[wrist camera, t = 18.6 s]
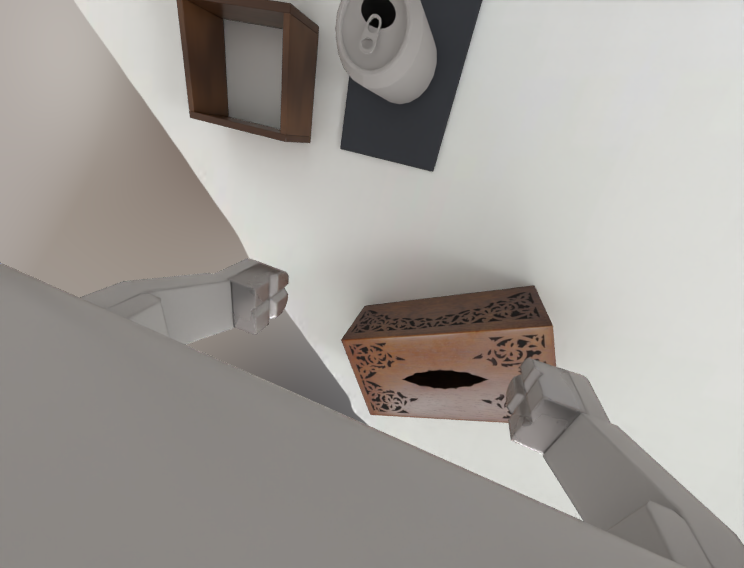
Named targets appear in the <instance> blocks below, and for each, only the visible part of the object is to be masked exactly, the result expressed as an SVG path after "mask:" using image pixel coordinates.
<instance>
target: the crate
mask: <svg viewBox="0 0 744 568" xmlns="http://www.w3.org/2000/svg"><path fill="white" fill-rule="evenodd" d="M177 8H178V16H179V25H180V34H181V43H182V51H183V60H184V69H185V77H186V86H187V95H188V104H189V110H190V111H189V113H190V118H193V119H197V120H201V121H205V122H209V123H213V124H217V125H221V126H225V127H229V128H233V129H237V130H241V131H245V132H249V133H252V134H256V135H260V136H264V137H268V138H272V139H276V140H280V141H284V142H300V143H310V139H311V126H312V113H313V99H314V86H315V73H316V59H317V46H318V31H319V26H318V25H317V24H315V23H314V22H313V21H312V20H310V19H309V18H308V17H307V16H305V15H304V14H303V13H302V12H300V11H299V10H298V9H297V8H296V7H294V6H293V5H292V4H291V3H285V2H278V1H271V0H177ZM223 19H226V20H232V21H238V22H245V23H251V24H257V25H263V26H269V27H275V28H281V29H283V53H282V91H281V129H277V128H273V127H269V126H264V125H260V124H256V123H252V122H248V121H244V120H240V119H236V118H232V117H228V98H227V80H226V62H225V44H224V26H223Z"/></svg>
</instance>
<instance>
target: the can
mask: <svg viewBox="0 0 744 568" xmlns="http://www.w3.org/2000/svg"><path fill="white" fill-rule="evenodd" d="M336 40H337V48H338V54H339V57H340V59H341V62H342V65H343V67H344V69H345V70H346V72H347V73H348V74H349V76H350V77H351V78H352V79H353V80H354V81H356V82H357V83H359V84H360V85H362V86H363V87H365V88H367V89H368V90H370V91H372V92H373V93H375V94H377V95H379V96H380V97H382V98H384V99H386V100H387V101H389V102H391V103H396V104H404V103H409V102H411V101H413V100H415V99H416V98H418V97H419V96H420V95H421V94H422V93H423V92H424V91H425V90H426V89H427V88H428V86H429V84H430V82H431V80H432V78H433V76H434V72H435V68H436V64H437V49H436V46H435V42H434V39H433V35H432V33H431V30H430V27H429V24H428V21H427V18H426V15H425V12H424V10H423V7H422V4H421V1H420V0H341V3H340V6H339V9H338V12H337V19H336Z"/></svg>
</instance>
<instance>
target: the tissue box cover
mask: <svg viewBox="0 0 744 568" xmlns="http://www.w3.org/2000/svg"><path fill="white" fill-rule="evenodd" d="M341 341H342V343H343V346H344V348H345V351H346V354H347V356H348V359H349V361H350V364H351V366H352V369H353V372H354V374H355V377H356V379H357V382H358V384H359V387H360V389H361V392H362V395H363V397H364V400H365V402H366V405H367V407H368V410H369V413H370V415H383V416H400V417H418V418H435V419H452V420H470V421H487V422H504V423H508V419H509V418H510V417H511V415H512V414H511V413H510V411H509V410H508V409H507V407H506V392H507V389H508V385H509V383H510V382H511V380H512V378H513V377H515V376H518V375H520V374H521V370H520V366H521V364H522V363H523V361H524V360H526V359H527V358H531V359H534V360H537V361H540V362H543V363H546V364H549V365H552V366H555V367H556V360H555V347H554V334H553V325H552V323H551V321H550V319H549V316H548V314H547V312H546V310H545V308H544V305H543V303H542V301H541V299H540V297H539V295H538V292H537V290H536V288H535V286H527V287H518V288H510V289H502V290H493V291H485V292H477V293H468V294H460V295H452V296H443V297H435V298H427V299H419V300H410V301H402V302H394V303H385V304H377V305H369V306H364V308H363V309H362V311H361V312H360V314H359V315H358V316H357V318H356V319H355V321H354V322H353V324H352V325H351V327H350V328H349V329H348V331H347V332H346V334H345V335H344V337H343V338H342V340H341Z"/></svg>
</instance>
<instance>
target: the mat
mask: <svg viewBox="0 0 744 568" xmlns="http://www.w3.org/2000/svg"><path fill="white" fill-rule="evenodd" d="M420 1H421V4H422V7H423V10H424V12H425V15H426V18H427V21H428V24H429V27H430V30H431V33H432V35H433V39H434V42H435V46H436V49H437V64H436V68H435V72H434V76H433V78H432V80H431V82H430V84H429V86H428V88H427V89H426V90H425V91H424V92H423V93H422V94H421V95H420V96H419V97H418V98H416V99H415V100H413V101H411V102H409V103H404V104H396V103H391V102H389V101H387V100H386V99H384V98H382V97H380V96H379V95H377V94H375V93H373V92H372V91H370V90H368V89H367V88H365V87H363V86H362V85H360V84H359V83H357V82H356V81H354V80H353V79H352V78H351V77H350V76H349V84H348V92H347V100H346V108H345V116H344V124H343V132H342V140H341V148H340V149H343V150H347V151H351V152H355V153H360V154H364V155H368V156H372V157H376V158H380V159H384V160H388V161H392V162H396V163H400V164H404V165H408V166H412V167H416V168H420V169H424V170H428V171H432V172H433V170H434V167H435V163H436V160H437V156H438V153H439V149H440V146H441V142H442V139H443V135H444V132H445V128H446V125H447V121H448V118H449V114H450V111H451V107H452V104H453V100H454V97H455V93H456V90H457V87H458V83H459V80H460V76H461V73H462V69H463V66H464V62H465V59H466V55H467V52H468V48H469V45H470V41H471V38H472V34H473V31H474V27H475V24H476V20H477V17H478V13H479V10H480V6H481V3H482V0H420Z"/></svg>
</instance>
